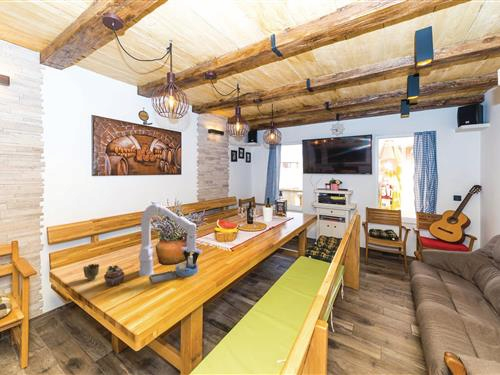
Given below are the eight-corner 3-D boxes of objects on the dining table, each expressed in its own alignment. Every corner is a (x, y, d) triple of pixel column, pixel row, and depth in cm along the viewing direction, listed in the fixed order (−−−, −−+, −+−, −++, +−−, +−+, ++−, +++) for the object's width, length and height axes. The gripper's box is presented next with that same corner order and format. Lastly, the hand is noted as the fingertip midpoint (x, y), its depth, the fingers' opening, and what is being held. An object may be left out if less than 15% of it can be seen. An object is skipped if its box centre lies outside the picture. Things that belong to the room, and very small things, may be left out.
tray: (149, 277, 132) (149, 275, 132) (172, 272, 139) (172, 270, 139) (152, 284, 123) (152, 282, 123) (176, 279, 131) (176, 277, 130)
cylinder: (186, 265, 141) (186, 257, 140) (192, 263, 144) (192, 255, 144) (190, 267, 138) (190, 258, 138) (196, 265, 141) (196, 256, 141)
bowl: (173, 270, 142) (173, 265, 142) (193, 265, 149) (193, 260, 149) (178, 279, 131) (179, 273, 130) (200, 274, 138) (201, 268, 138)
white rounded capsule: (177, 272, 137) (177, 264, 137) (182, 269, 141) (182, 261, 141) (182, 274, 135) (182, 265, 135) (187, 271, 139) (187, 262, 139)
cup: (94, 275, 132) (94, 262, 132) (102, 278, 129) (101, 265, 128) (80, 280, 126) (80, 267, 125) (88, 284, 122) (87, 270, 122)
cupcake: (126, 283, 124) (126, 266, 123) (106, 289, 117) (105, 271, 117) (121, 277, 131) (121, 261, 130) (102, 282, 124) (102, 265, 124)
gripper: (178, 242, 139) (177, 263, 140) (197, 245, 134) (197, 267, 135) (184, 239, 145) (184, 259, 146) (204, 242, 140) (203, 263, 141)
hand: (191, 263), depth 141 cm, fingers closed on cylinder, 4 cm apart
